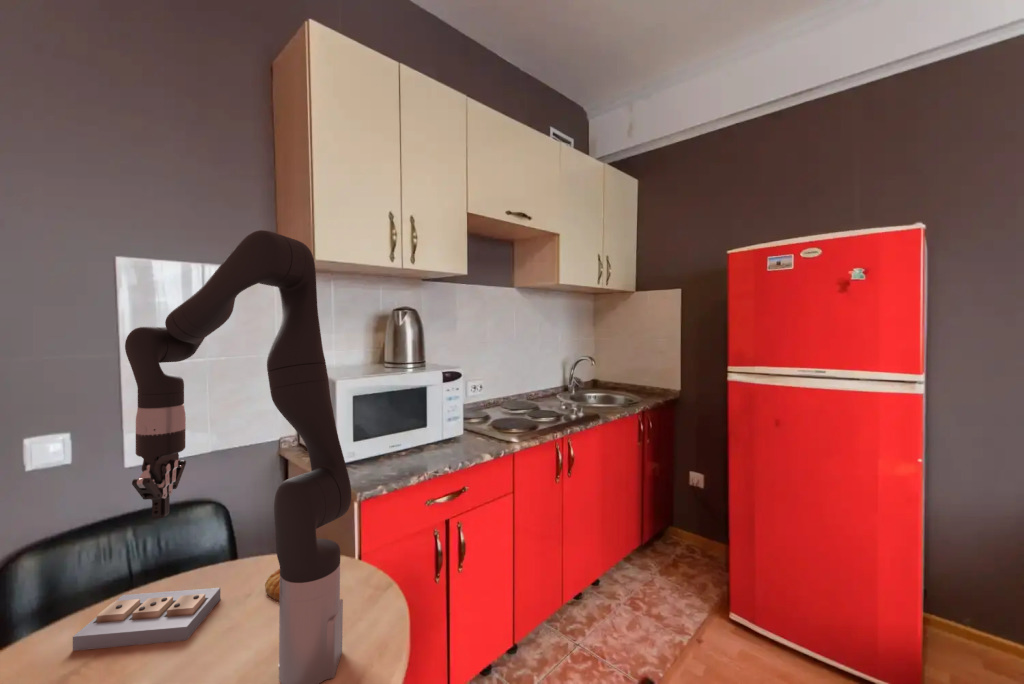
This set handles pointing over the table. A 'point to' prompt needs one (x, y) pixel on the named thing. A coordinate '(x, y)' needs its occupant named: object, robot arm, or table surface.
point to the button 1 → (118, 611)
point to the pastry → (273, 585)
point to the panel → (146, 624)
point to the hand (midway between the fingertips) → (160, 516)
